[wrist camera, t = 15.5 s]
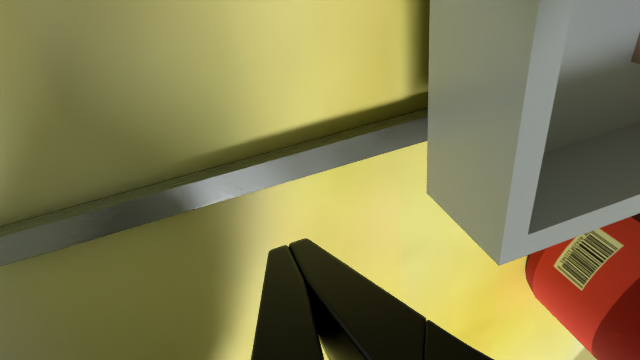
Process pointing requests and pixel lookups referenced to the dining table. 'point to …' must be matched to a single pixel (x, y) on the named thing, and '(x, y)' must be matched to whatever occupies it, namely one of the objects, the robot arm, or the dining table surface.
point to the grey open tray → (533, 119)
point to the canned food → (594, 287)
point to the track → (206, 187)
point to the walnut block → (636, 52)
